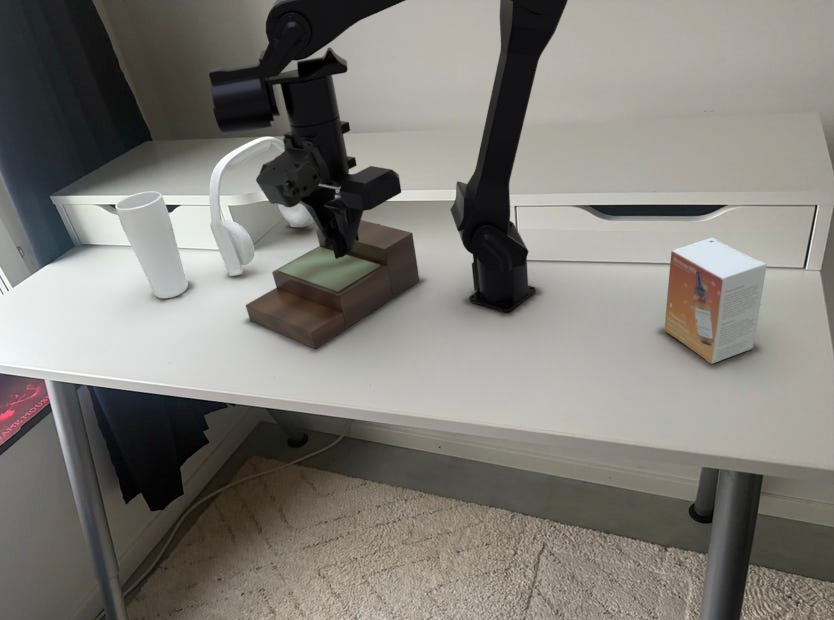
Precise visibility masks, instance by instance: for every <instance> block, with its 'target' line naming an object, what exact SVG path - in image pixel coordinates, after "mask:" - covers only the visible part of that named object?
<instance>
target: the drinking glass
mask: <svg viewBox="0 0 834 620" xmlns="http://www.w3.org/2000/svg"><path fill="white" fill-rule="evenodd" d="M115 211H116V213H117V217H118V220H119V223H120V225H121V227H122V229H123V232H124V234H125V237H126V239H127V241H128V243H129V245H130V247H131V249H132V251H133V253H134V254H135V257H136V259H137V262H138V263H139V265H140V267H141V269H142V271H143V273H144V275H145V277H146V280H147V281H148V284H149V286H150V288H151V291H152V293H153V295H154V296H155V297H156V298H158V299H172V298H174V297H177V296H180V295H182V294H183V293H184V292H185V291H186V290H187V289H188V286H189V282H188V279H187V277H186V274H185V270H184V265H183V262H182V258H181V255H180V254H181V253H180V251H179V247H178V246H179V245H178V242H177V239H176V235H175V231H174V227H173V223H172V220H171V215H170V213H169V210H168V208H167V205H166V203H165V200H164V197H163V195H162V193H161V192H158V191H153V190H152V191H151V190H150V191H143V192H141V191H140V192H138V193H133V194H131V195H128V196H126V197H124V198H121V199H119V200H118V201H117V202H116V203H115Z"/></svg>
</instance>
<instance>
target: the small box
mask: <svg viewBox="0 0 834 620" xmlns="http://www.w3.org/2000/svg"><path fill="white" fill-rule="evenodd" d="M670 253H671V254H670V263H669V273H668V284H667V298H666V308H665V317H664V319H665V320H664V329H663V330H664V332H665V333H667V334H669V336H672V338H675V339H677V340H678V341H679V342H681V343H682V344H683V345H685V346H686V347H688V348H689V349H690V350H691V351H693V352H694V353H696V354H697V355H699V356H700V357H701V358H703V359H704V360H705V361H706V362H707V363H709V364H711V365H714V364H715V363H717V362H721V361H723V360H725V359H728V358H732V357H734V356H737V355H739V354H741V353H745V352H747V351H750V350H752V349H753V348H754V343H755V337H756V331H757V326H758V319H759V314H760V308H761V303H762V296H763V291H764V285H765V278H766V272H767V267H768V264H767V263H765V262H764V261H761V260H758V259H755V258H754V257H751V256H750V255H748V254H745V253H744V252H742V251H740V250H738V249H735V248H733V247H732V246H730V245H727V244H726V243H724V242H722V241H720V240H719V239H717V238H715V237H710V238H706V239H703V240H699V241H696V242H694V243H690V244H688V245H684V246H681V247H677V248H675V249H673V250H671V252H670Z"/></svg>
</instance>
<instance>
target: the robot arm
mask: <svg viewBox="0 0 834 620" xmlns="http://www.w3.org/2000/svg"><path fill="white" fill-rule="evenodd" d="M405 1H407V0H275V2H274V3H273V4H272V7H271V8H270V10H269V12H268V14H267V18H266V20H265V35H266V38H267V41H268V44H267V46H266V49H265V50H262V51H261V52H260V55H259V57H258V62H256V63H250V64H245V65H239V66H238V65H237V66H232V67H228V66H227V67H226V66H222V67H215V68H212V69H211V70H210V72H209V74H208V77H209V80H210V84H211V96H212V103H213V107H212V111H213V115H214V117H215V121H216V124H217V126H218V129H219V132H221V134H222V135H224V136H225V135H230V134H231V135H232V134H236V133H243V132H248V131H255V130H260V129H266V128H272V127H274V125H275V121H276V120H275V117H281V116H282V108H281V107H282V105H281V101H280V96H279V91H278V88H277V87H278V86H277V85H280V89H281V92H282V93H281V94H282V98H283V102H284V107H285V111H286V115H287V120H288V123H289V128H290V131H288V132H285V133H284V134H283V139H282V142H283V143H284V147H285V151H284V152H283V153H281V154H280V155H277V156H276V157H274V159H272V160H269V161H268V162H265V163H263V164H262V165H261V168H260V171H259V174H258V175H257V177H256V179H255V181H256V183H257V185H258V186H259V188H260V190H261V191H262V192H263V194H264V195H265V197H266V199H267V200H268V202H269V203H270V204H272V205H275V204H277V205H278V204H281V205H284V206H285V207H294V206H296V205H297V204H298V203H300V204H302V205H304V206H305V208H306V209H307V210H308V212H309V213H310V215H311V216H312V218H313V222H314V223H315V225H316V226H317V229H320V231H321V233H322V234H323V236H324V238H325V239H326V238H327V237H329V238H331V236H326V235H325V234H324V232H323V227H324V226H325V225H326V224H327V223H328V222H329V221H331V220H332V219H333V218H336V220H337V224H338V227H339V231H340V234H341V238H342V241H343V244H344V246H345V248H346V249H350V248H352V247H353V246H354V242H355V239H356V235H357V231H358V228H359V224H360V221H361V220H362V218H363V213H364V212H365V211H370V210H373V209H374V208H377V207H378V206H380V205H381V204H384V203H385V202H387V201H389V200H391V199H393V198H395V197H397V196H398V195H399V194H401V193H402V186H401V179H400V174H398V172H396V171H395V170H393V169H391V168H385V167H379V166H374V165H369V166H367V167H366V168H364V169H362V170H360V171H358V172H356V173H350V170H351V169H352V168H355V167H357V165H358V164H357V160H356V157H355V156H349V155H348V152H347V148H346V142H345V136H344V134H347V133H348V132H351V127H350V122H349V121H345V120H341V116H340V110H339V106H338V100H337V93H336V88H335V84H334V78H333V76H335V75H341V74H346V73H347V72H348V70H349V69H348V61H347V60H346V59H345V58H343V57H341V56H339V54H337V53H336V52H335V51H334V50H333V48H332V47H327V49H326V50H325V53H324V54H323V55H322V56H319V57H314V58H310V57H312V56H313V55H314V54H316V53H317V52H318V51H320V50H322V49H323V48H325V47H326V46H328V45H329V44H330V43H332V42H333V41H334V40H336V39H337V38H338V37H339V36H341V35H343V33H345V32H346V31H347V30H349V29H350V28H351V27H353V26H354V25H355V24H357V23H358V22H360V21H362V20H364V19H367V18H369V17H371V16H373V15H375V14H378V13H380V12H382V11H385V10H388V9H389V8H391V7H392V8H393V7H394V6H396V5H399V4H401V3H404V2H405ZM499 1H500V2H499V3H500V4H499V30H500V31H499V32H500V51H499V56H498V62H497V66H496V71H495V75H494V80H493V85H492V90H491V95H490V99H489V104H488V109H487V113H486V118H485V122H484V127H483V132H482V137H481V141H480V146H479V151H478V156H477V160H476V165H475V169H474V172H473V174H472V175H471V176H470V178H469V180H468V182H467V183H465V182H462V181H456V186H455V199H454V202H453V205H452V206H451V207H450V209H449V210H450V213H451V216H452V219H453V222H454V224H455V227H456V229H457V232H458V235H459V237H460V240H461V242H462V246H463V247H464V249H465V250H466V251H467V252H468V253H470V254H471V255H472V262H471V271H472V281H473V290H474V291H475V292H474V293H472V294H471V295H470V296H468V300H469V302H472V303H475V304H478V305H481V306H484V307H487V308H491V309H493V310H497V311H500V312H503V313H510V312H511V311H513V310H514V309H515V308H516V307H518V306H519V305H521V303H523V302H524V301H526V300H527V299H528V298H529V297H531V296H532V295H534V294H535V293H536V291H537V288H536V287H535V286H532V285H529V278H528V277H529V276H528V275H529V273H528V256H529V249H528V247H527V245H526V244H525V241H524V240H523V238H522V235H521V234H520V232H519V231H518V229H517V227H516V225H515V223H514V222H513V221H511V198H510V197H511V196H510V181H511V178H512V173H513V167H514V165H515V161H516V157H517V152H518V147H519V144H520V140H521V135H522V132H523V127H524V123H525V118H526V116H527V115H526V114H527V110H528V106H529V103H530V97H531V93H532V89H533V85H534V81H535V77H536V73H537V68H538V64H539V60H540V58H541V56H542V54H543V53H544V50H545V49H546V48H547V46H548V44H549V43H550V41H551V39H552V38H553V36H554V35H555V33H556V30H557V28H558V26H559V23H560V21H561V19H562V16H563V14H564V11H565V10H566V6H567V4H568V1H569V0H499ZM308 58H309V59H308ZM292 61H296V67H297V68H295V69H291V70H288V71H284V70H285V69H286V68H287V67H288V65H289V64H291V63H292Z"/></svg>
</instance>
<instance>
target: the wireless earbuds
mask: <svg viewBox="0 0 834 620" xmlns="http://www.w3.org/2000/svg"><path fill="white" fill-rule="evenodd" d="M323 232H324V234H325V235H326V236H331V238H329V237H327V238H326V239H325V245H326V247H330V246H331V245H332V246H333V250H334V255H335V259H338V258H339V257H344V256H345V255H346V254H347V253H348V252H349V251H350V250H352V248H353V247H352V248H350V249H346V248H345V246H344V244H343V241H342V238H341V234H340V231H339V227H338V224H337V220H336V218H333V219H332V220H331V221H329V222H328V223H327V224H326V225H325V226H324V227H323ZM356 241H359V237H358V231H357V235H356Z"/></svg>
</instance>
